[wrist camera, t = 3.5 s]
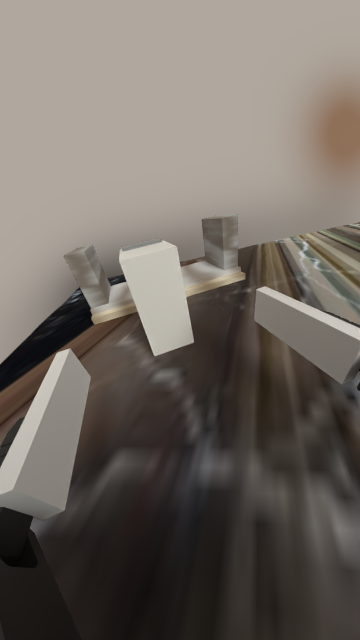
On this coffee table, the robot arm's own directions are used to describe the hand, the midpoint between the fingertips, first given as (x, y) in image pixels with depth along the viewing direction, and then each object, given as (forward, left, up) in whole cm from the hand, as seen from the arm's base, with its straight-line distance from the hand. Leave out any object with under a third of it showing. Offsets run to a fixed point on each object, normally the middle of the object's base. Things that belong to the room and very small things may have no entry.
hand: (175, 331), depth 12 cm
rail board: (-4, -25, -6) cm, 26 cm away
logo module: (0, -9, -6) cm, 11 cm away
